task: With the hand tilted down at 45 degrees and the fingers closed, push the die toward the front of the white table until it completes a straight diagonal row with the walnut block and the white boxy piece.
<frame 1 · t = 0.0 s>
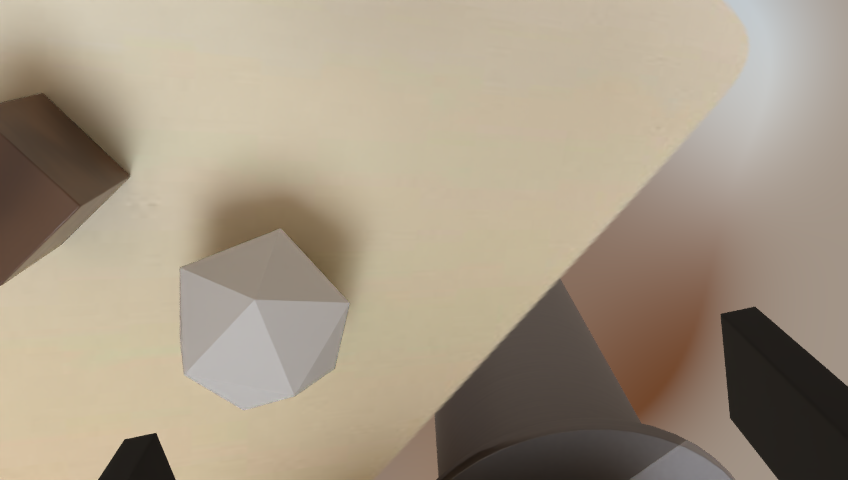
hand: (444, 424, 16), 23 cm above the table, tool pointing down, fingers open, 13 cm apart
walnut block: (51, 171, 37), on the table
die: (276, 289, 40), on the table
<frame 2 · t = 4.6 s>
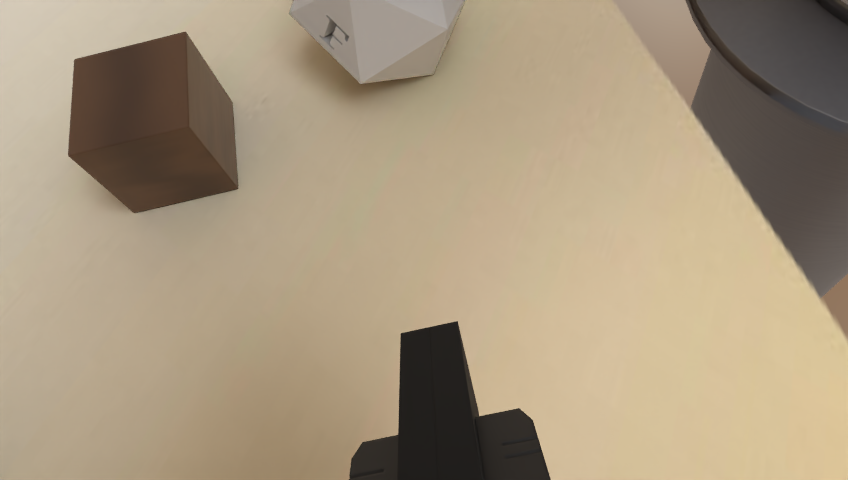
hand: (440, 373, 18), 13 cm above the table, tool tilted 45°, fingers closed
walnut block: (185, 156, 39), on the table
die: (397, 50, 40), on the table
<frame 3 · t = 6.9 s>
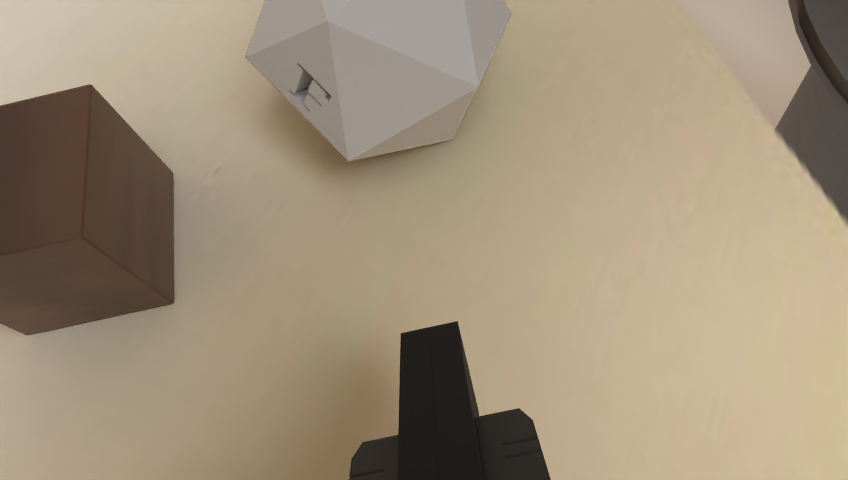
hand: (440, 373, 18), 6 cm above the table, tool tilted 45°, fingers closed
walnut block: (103, 250, 27), on the table
die: (402, 103, 29), on the table
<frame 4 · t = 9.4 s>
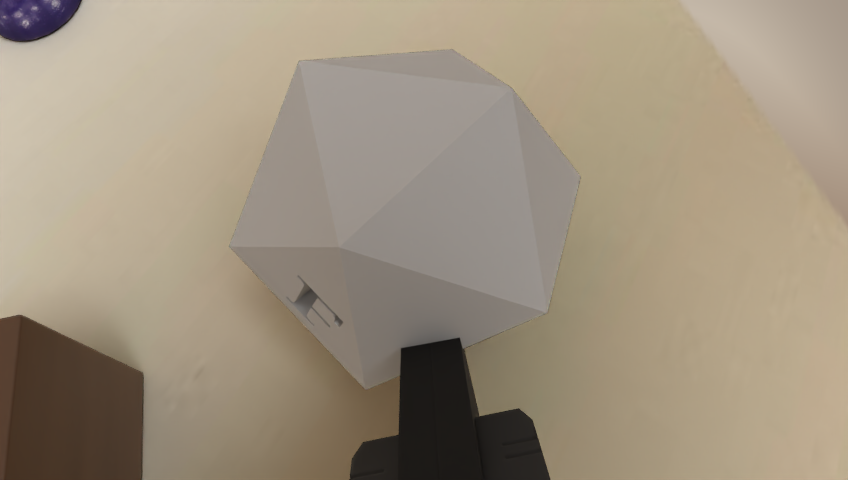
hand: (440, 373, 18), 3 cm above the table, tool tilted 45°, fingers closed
toy lamp: (47, 9, 31), on the table
die: (432, 269, 23), on the table, touching gripper
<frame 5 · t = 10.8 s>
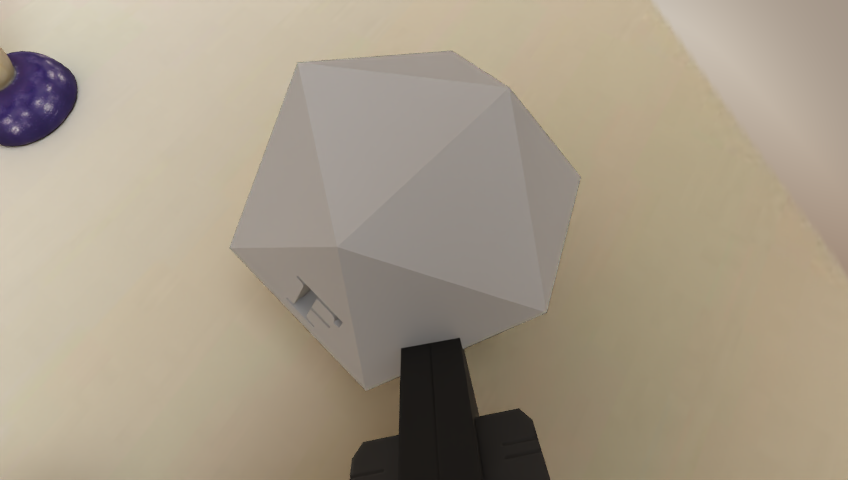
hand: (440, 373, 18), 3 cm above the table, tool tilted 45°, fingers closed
toy lamp: (40, 108, 28), on the table
die: (434, 270, 23), on the table, touching gripper
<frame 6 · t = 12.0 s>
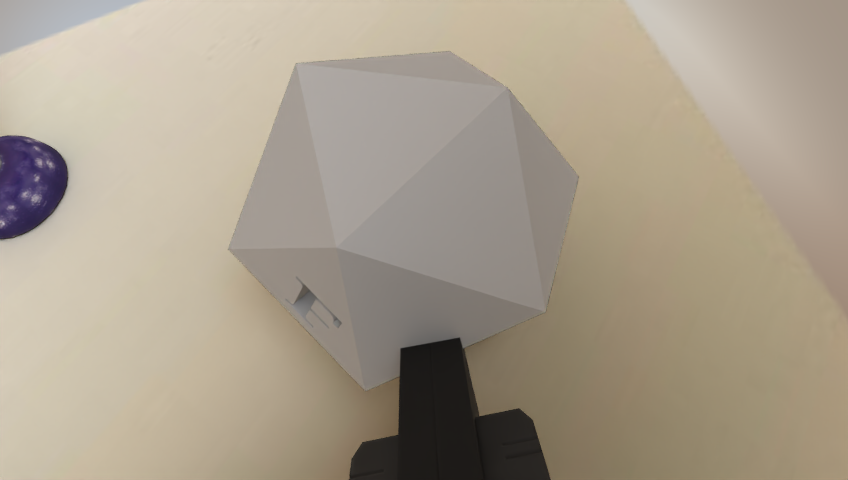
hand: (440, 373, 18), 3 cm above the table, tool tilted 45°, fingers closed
toy lamp: (27, 194, 27), on the table
die: (432, 271, 23), on the table, touching gripper
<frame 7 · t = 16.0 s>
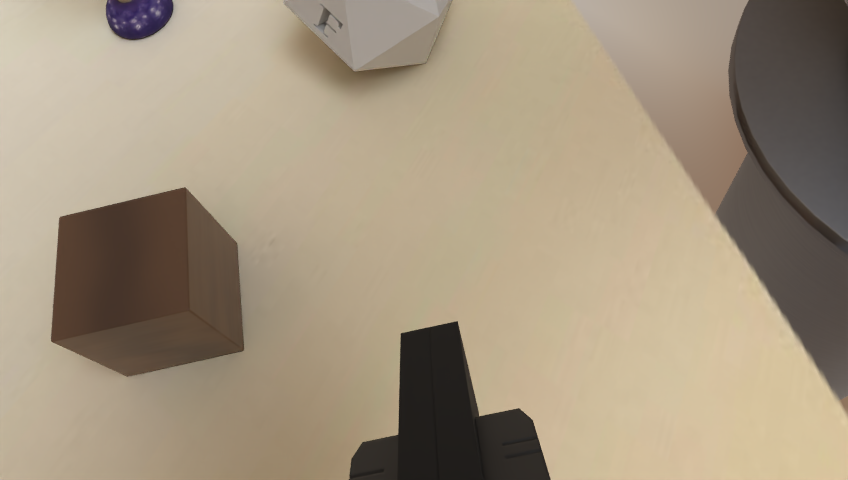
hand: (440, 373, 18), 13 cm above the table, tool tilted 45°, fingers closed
toy lamp: (148, 17, 44), on the table
walnut block: (184, 307, 35), on the table
die: (389, 40, 40), on the table
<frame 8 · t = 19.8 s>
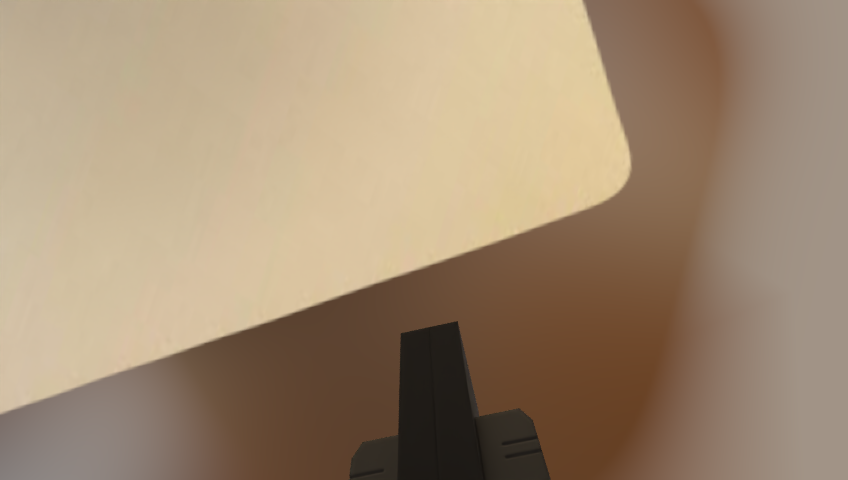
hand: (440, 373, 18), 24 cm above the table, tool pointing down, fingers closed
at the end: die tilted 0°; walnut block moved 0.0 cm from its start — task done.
